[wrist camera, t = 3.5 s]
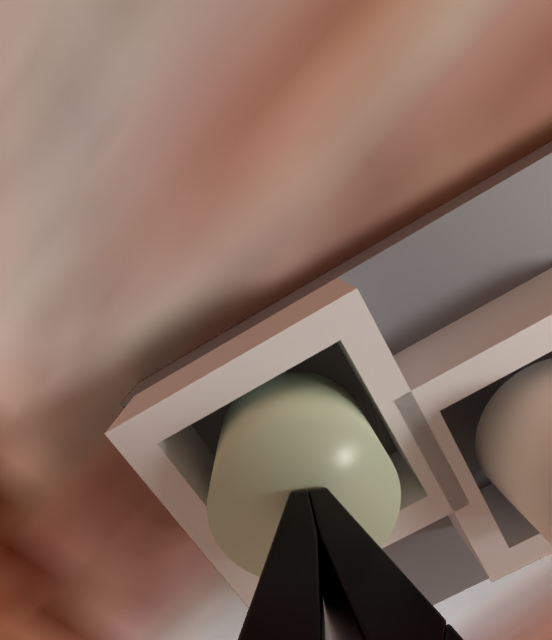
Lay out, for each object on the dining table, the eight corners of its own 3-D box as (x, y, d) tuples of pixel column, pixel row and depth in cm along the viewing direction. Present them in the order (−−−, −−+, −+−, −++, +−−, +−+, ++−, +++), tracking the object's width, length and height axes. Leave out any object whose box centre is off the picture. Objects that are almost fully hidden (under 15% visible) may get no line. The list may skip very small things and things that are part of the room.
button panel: (809, 371, 13) (1006, 418, 9) (315, 616, 15) (333, 731, 11) (752, 22, 10) (1012, -90, 6) (137, 383, 12) (88, 443, 8)
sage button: (389, 458, 10) (431, 529, 8) (267, 522, 11) (270, 610, 8) (322, 343, 9) (346, 382, 7) (190, 418, 10) (166, 482, 7)
